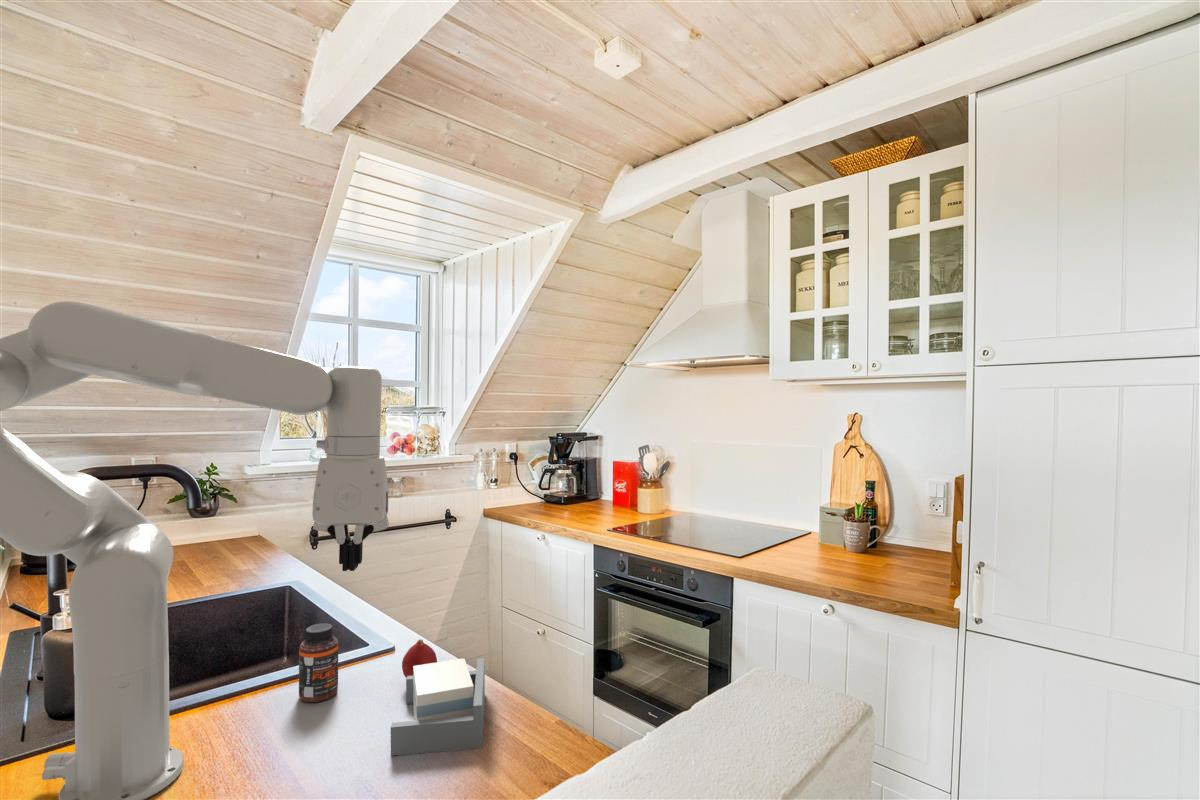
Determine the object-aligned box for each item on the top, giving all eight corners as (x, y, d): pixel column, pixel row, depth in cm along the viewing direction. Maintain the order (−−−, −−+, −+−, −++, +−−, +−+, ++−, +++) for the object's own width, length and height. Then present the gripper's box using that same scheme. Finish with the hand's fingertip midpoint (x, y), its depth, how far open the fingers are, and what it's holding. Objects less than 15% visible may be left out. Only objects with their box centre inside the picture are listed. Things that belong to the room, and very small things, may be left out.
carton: (417, 744, 86) (416, 695, 86) (413, 709, 96) (412, 665, 96) (474, 733, 89) (473, 686, 89) (464, 700, 99) (464, 658, 99)
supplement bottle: (312, 708, 96) (312, 637, 96) (291, 698, 99) (290, 629, 99) (346, 692, 101) (345, 625, 101) (324, 683, 104) (324, 618, 104)
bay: (390, 756, 83) (390, 712, 83) (407, 700, 98) (407, 663, 98) (482, 747, 85) (481, 705, 85) (484, 694, 100) (484, 658, 100)
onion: (396, 684, 104) (396, 638, 104) (427, 674, 108) (427, 629, 108) (411, 697, 99) (410, 649, 99) (443, 685, 103) (442, 639, 103)
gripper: (292, 449, 87) (289, 576, 86) (400, 450, 89) (397, 574, 89) (309, 445, 94) (306, 563, 94) (408, 446, 96) (405, 561, 96)
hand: (350, 568), depth 91 cm, fingers closed
